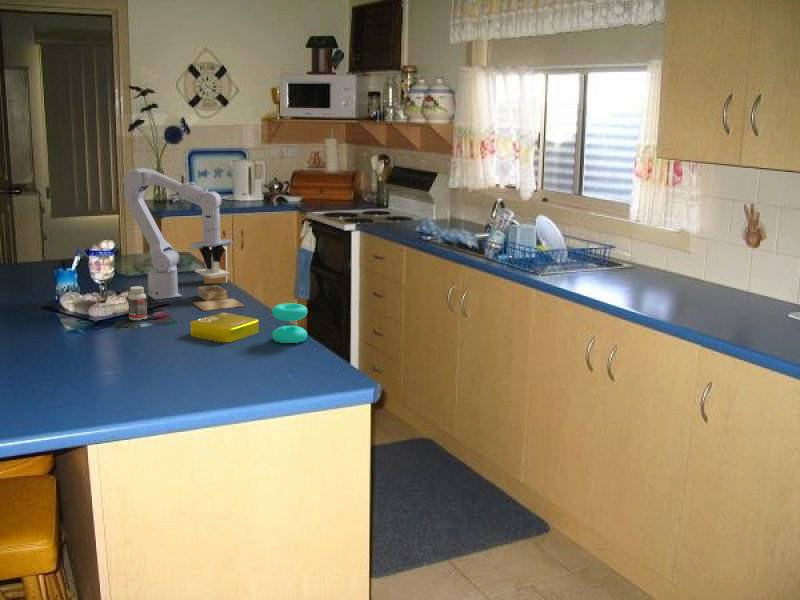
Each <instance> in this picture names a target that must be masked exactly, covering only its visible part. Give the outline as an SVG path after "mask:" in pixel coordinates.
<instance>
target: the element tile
mask: <svg viewBox="0 0 800 600" xmlns="http://www.w3.org/2000/svg"><path fill="white" fill-rule="evenodd" d="M259 323H260V322H259V319H258V318H255V317H249V316H245V315H239V314H235V313H234V314H233V313H229V312H224V311H223V312H218V313H216V314H212V315H209V316H205V317H202V318H198V319H195V320H191V321H190V337H194V338H198V339H202V338H203V340H206V339H208V341H211V340H214V341H213V342H216V341H218V342H217V343H220V342H232V341H235V340H238V339H241V338H243V339H245V338H244V337H246V338H248V337H247V336H249V337H251V336H250V335H252V336H254V335H253V334H255V333H257V334H259V333H260V332H259V329H260V327H259V326H260V324H259ZM258 332H259V333H258ZM255 335H256V334H255ZM241 340H242V339H241ZM238 341H239V340H238ZM235 342H236V341H235ZM232 343H233V342H232Z"/></svg>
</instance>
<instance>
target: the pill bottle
mask: <svg viewBox="0 0 800 600" xmlns="http://www.w3.org/2000/svg"><path fill="white" fill-rule="evenodd" d="M144 290H145V289H144V286H141V285H137V286H131V287H129V293H130V294H128V296H127V299H128V300H127V303H128V319H129V320H131V321H143V320H142V319H144V320H146V319H147V318H148V307H147V306H148V304H147V295H146V294H145V293H144V292H145V291H144Z"/></svg>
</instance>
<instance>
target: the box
mask: <svg viewBox="0 0 800 600" xmlns="http://www.w3.org/2000/svg"><path fill="white" fill-rule="evenodd" d="M197 296H198V297H199V298H200V299H202V300H203V301H212V300H222V299H229V297H228V291H227V290H226V289H225V288H223V287H221V286H219V284H217V285H208V286H198V287H197Z"/></svg>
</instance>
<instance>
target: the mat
mask: <svg viewBox="0 0 800 600" xmlns="http://www.w3.org/2000/svg"><path fill="white" fill-rule="evenodd" d="M192 304H193V305H194V306H195V307H196V308H198V309H199V310H201V311H203V312H209V311H210V312H211V311H218V310H219V311H220V310H228V308H229V309H236V308H235V307H239V308H244V307H243V306H245V307H246V305H244V304H243V303H241V302H240V301H238V300H236V299H235V298H234V297H233V298H228V299H222V300H212V301H205V300H203V301H195V302H194V301H193V302H192Z"/></svg>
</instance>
